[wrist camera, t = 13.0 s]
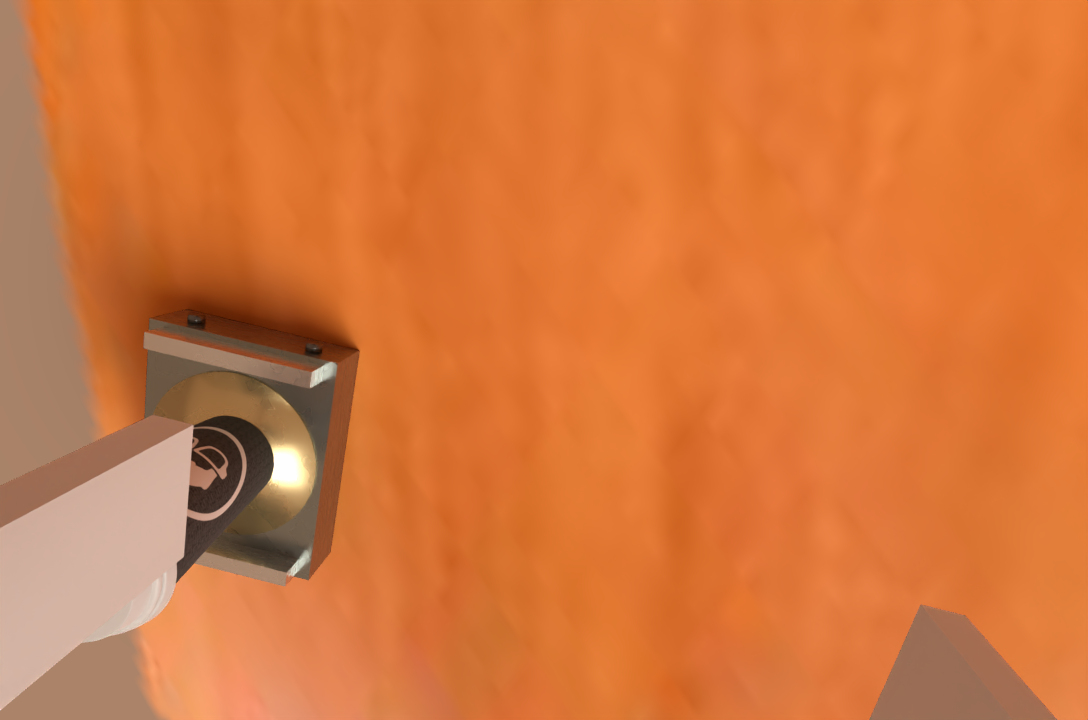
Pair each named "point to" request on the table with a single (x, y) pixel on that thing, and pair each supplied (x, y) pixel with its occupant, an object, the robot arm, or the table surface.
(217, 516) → the coffee cup
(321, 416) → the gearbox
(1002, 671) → the robot arm
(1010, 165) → the table surface
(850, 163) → the table surface
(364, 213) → the table surface
